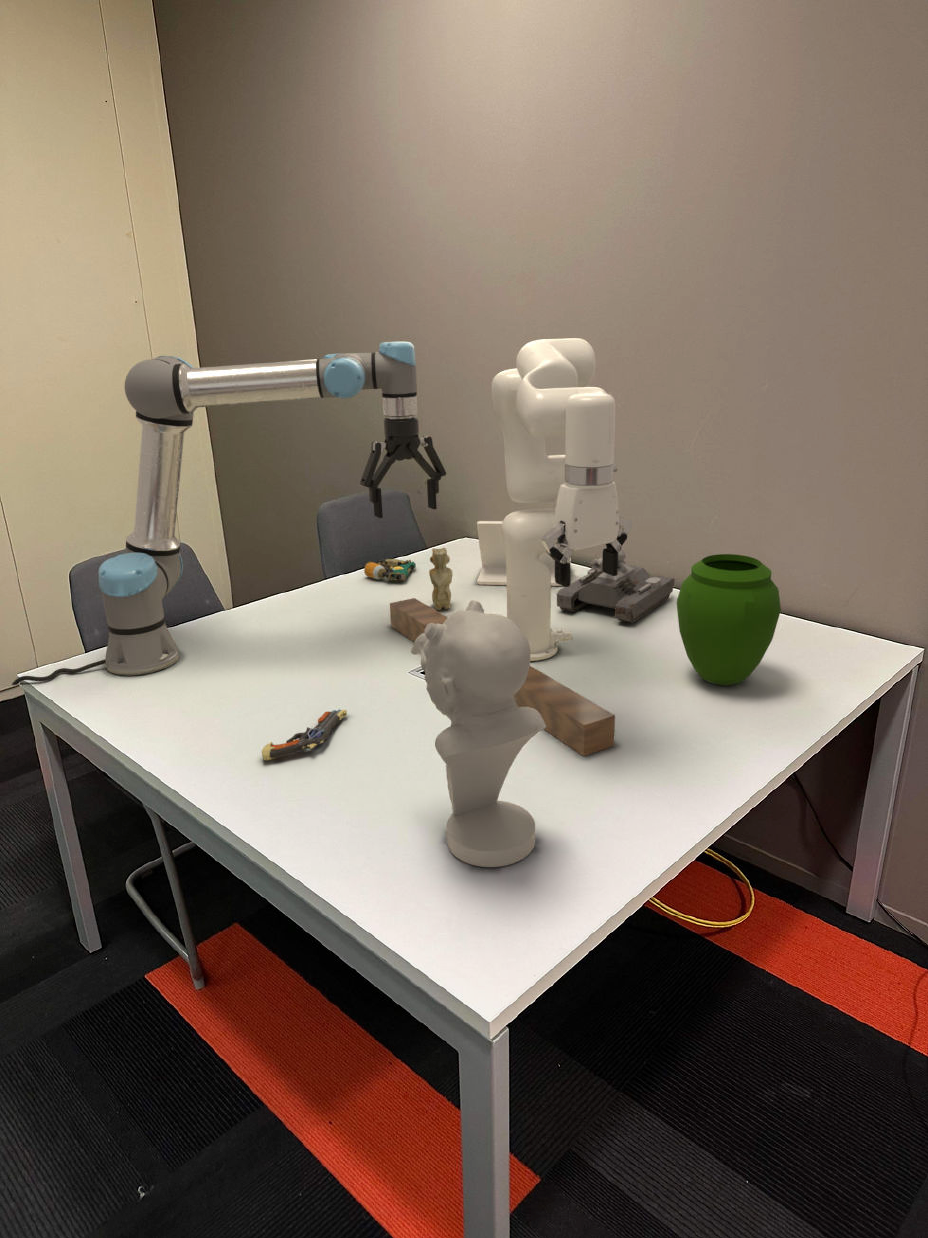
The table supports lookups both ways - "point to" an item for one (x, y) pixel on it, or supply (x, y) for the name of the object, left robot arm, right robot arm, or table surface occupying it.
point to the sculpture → (440, 578)
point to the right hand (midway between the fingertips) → (586, 579)
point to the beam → (530, 690)
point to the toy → (617, 590)
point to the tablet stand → (500, 555)
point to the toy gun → (305, 737)
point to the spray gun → (389, 569)
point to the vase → (727, 616)
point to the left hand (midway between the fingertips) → (405, 512)
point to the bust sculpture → (481, 729)
